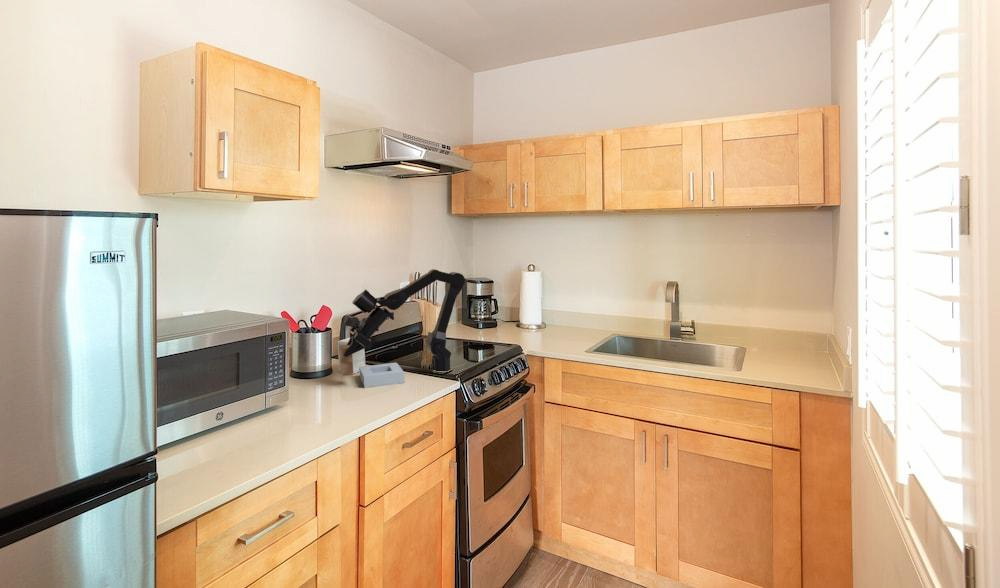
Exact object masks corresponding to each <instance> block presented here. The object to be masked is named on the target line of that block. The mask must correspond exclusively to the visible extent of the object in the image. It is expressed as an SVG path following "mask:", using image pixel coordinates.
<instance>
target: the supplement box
mask: <svg viewBox="0 0 1000 588" xmlns="http://www.w3.org/2000/svg"><path fill="white" fill-rule="evenodd" d="M349 339H350V337H347V338H344V339H341V340H337V354H338V355H337V356H338V369H339V371H338V372H339V373H341V369H340V354H339V346H344V345H347V343H348V341H349ZM352 358H353V374H354V373H355V374H357V373H359V367H363V366H366V351H365V349H362V350H360V351H358V352H356V353H353V354H352ZM355 374H354V375H355Z"/></svg>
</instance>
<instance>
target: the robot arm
mask: <svg viewBox="0 0 1000 588" xmlns="http://www.w3.org/2000/svg"><path fill="white" fill-rule="evenodd" d="M436 281H438V282H442V283H444V291H445V292H444V297H443V300H442V304H441V306H440V309H439V313H438V318H437V320H436V324H435V327H434V330H432V332H430V331H428V333H427V338H426V340H425V343H426V345H425V347H426V348H427V350H429V352H431V354H432V357H431V370H432V369H433V370H436V371H448V370H450V369H451V356H452V352H451V351H450V350H449V349H447V348H446V344H447V330H448V327H449V322H450V319H451V317H452V313H453V310H454V306H455V302H456V300H457V296H459V294H460V293H461V292H462V289H463V287H464V285H465V283H466V278H465V276H464V275H463V274H462V273H460V272H456V271H451V272H445V271H444V272H443V271H440V270H438V269H434V268H432V269H429V271H428V272H427V273H424V274H423V275H421V276H419V277H418V278H416V279H415V280H414V281H412V282H410V283H408V284H407V285H406V286H404V287H401V288H398V289H395V290H392V291H390V292H387V293H386V294H384V296H380V297H375V296H373V294H371V293H370V292H369V290H367V289H364V290H363V291H362V292H361V293H359V294H357V296H356V297H355V298H354V299H353V300H352V304H353V306H355V307H356V308H358V309H359V311H361V312H362V313H364V314H366V313H368V316H367V317H363V318H362V319H359V318H358V316H357V317H356V316H355V315H354V316H351V315H349V314H346V315H345V316H346V317H345V319H344V321H343V325H344V326H346V327H350V328H348V329H349V331H348V332H349V338H350V339H349V341H348V343H347V345H350V346H349V347H348V349H347V350H346V352H345V354H344V356H345V357H347V356H349V355H351V354H353V353H356V352H358V351H360V350H362V349H364V350H365V349H367V350H370V348H371V347H372V346H373V343H372V340H371V339H372V336H373V335H374V334H375V333H376V332H379V331H380V329H379V328H380V327H381V326H382V325H383V324H384V323H385V322H386V320H388V318H389V319H390V320H392V321H394V320H395V315H394V314H395V313H394V311H396V310H398V309H400V308H401V307H402V306H403V305H404V304H405V303H406V302H407V301H408V300H409V299H410V298H411V297H412V296H414V295H415V294H417V293H418V292H421V290H423V289H425V288H426V287H428V286H430V285H431V284H433V283H434V282H436ZM378 304H379V305H380V306H381V307H382V308H381V307H380V306H379V305H378ZM387 308H388V309H387ZM390 310H392V311H390Z"/></svg>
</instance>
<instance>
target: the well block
mask: <svg viewBox="0 0 1000 588" xmlns="http://www.w3.org/2000/svg"><path fill="white" fill-rule="evenodd" d="M358 373H359V379H360V381H361V384H362V385H364V386H363V387H364V389H368V388H367V387H370V388H376V387H383V386H384V387H385V386H391V385H398V384H405V372H404V370H403V368H402V367H401V366H400V365H399V364H398V363H397V362H391V363H390V362H389V363H382V364H373V365H365V366H363V367H359V372H358Z"/></svg>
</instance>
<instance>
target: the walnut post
mask: <svg viewBox="0 0 1000 588" xmlns="http://www.w3.org/2000/svg"><path fill="white" fill-rule="evenodd" d="M349 346H350V345H344V346H339V354H340V369H341V372H340V376H341V377H346V376H353V375H355V374H353V358H352V354H351V355H349V356H347V357H345V356H344V354H345V352H346V350H347V349H348V347H349Z"/></svg>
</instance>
